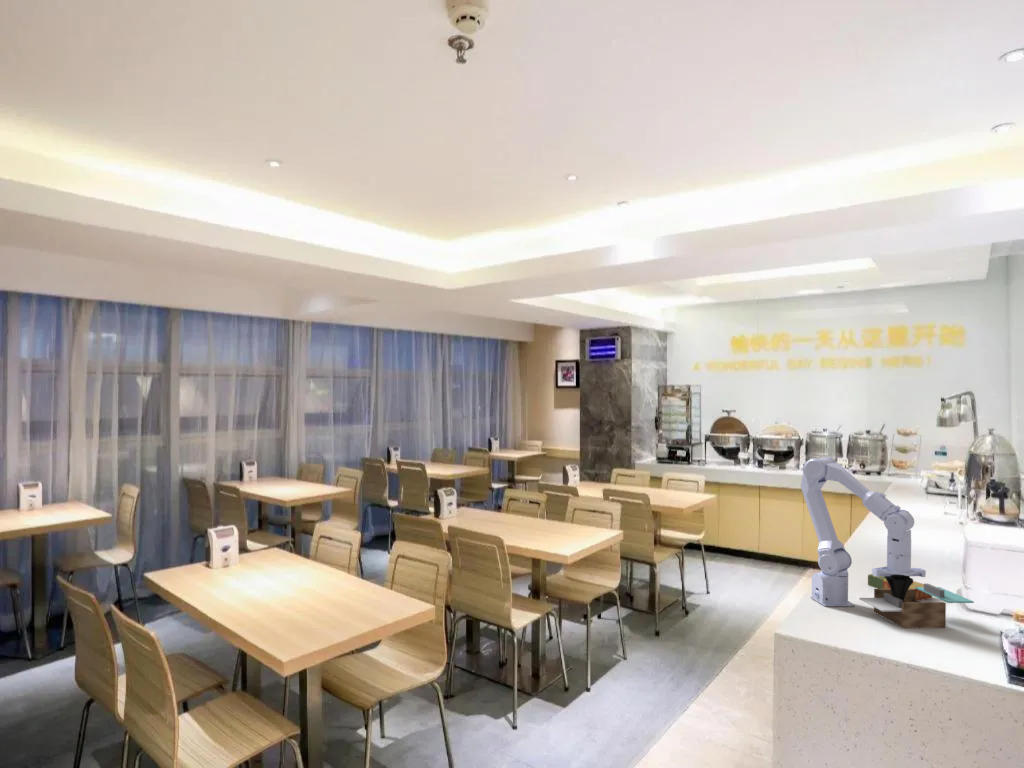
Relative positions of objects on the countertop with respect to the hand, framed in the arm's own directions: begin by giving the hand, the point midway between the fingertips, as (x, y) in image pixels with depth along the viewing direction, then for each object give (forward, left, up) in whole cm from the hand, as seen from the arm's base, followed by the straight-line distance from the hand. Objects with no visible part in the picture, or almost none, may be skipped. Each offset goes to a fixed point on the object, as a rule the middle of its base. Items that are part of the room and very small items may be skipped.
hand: (898, 601), depth 167 cm
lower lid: (-5, 0, -1) cm, 5 cm away
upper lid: (+13, 0, +2) cm, 14 cm away
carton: (+18, +24, -6) cm, 30 cm away
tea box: (+3, 0, -5) cm, 6 cm away
